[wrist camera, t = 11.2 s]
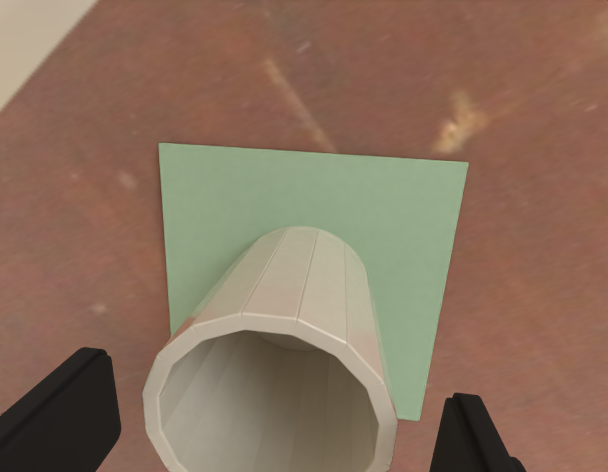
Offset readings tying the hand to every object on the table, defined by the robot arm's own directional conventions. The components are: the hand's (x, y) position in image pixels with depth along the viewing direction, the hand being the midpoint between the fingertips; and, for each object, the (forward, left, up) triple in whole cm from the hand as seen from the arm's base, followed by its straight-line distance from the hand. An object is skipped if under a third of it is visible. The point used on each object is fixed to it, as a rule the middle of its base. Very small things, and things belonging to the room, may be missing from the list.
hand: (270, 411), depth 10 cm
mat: (0, 0, -9) cm, 9 cm away
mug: (+2, 0, -8) cm, 8 cm away
